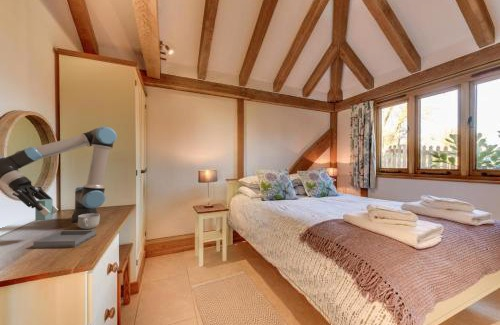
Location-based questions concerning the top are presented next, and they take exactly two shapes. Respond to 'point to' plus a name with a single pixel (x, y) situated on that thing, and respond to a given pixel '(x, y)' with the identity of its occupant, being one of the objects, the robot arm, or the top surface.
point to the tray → (65, 239)
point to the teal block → (47, 204)
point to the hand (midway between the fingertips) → (52, 212)
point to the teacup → (88, 221)
